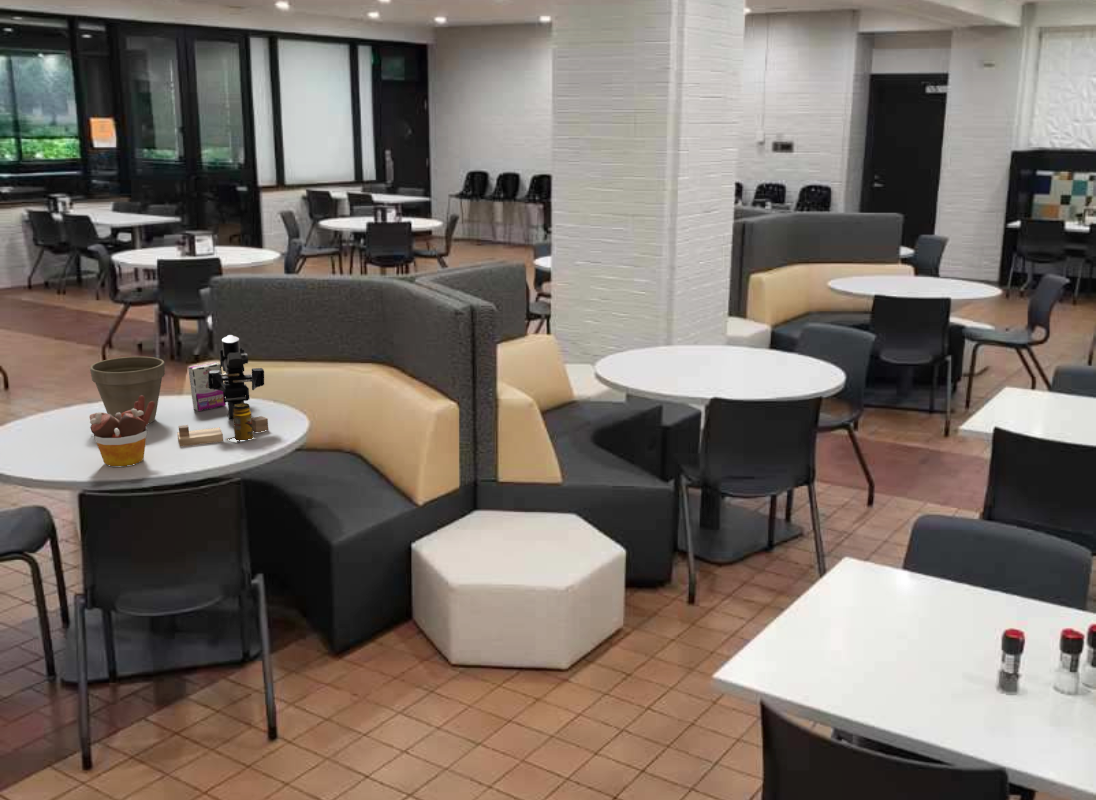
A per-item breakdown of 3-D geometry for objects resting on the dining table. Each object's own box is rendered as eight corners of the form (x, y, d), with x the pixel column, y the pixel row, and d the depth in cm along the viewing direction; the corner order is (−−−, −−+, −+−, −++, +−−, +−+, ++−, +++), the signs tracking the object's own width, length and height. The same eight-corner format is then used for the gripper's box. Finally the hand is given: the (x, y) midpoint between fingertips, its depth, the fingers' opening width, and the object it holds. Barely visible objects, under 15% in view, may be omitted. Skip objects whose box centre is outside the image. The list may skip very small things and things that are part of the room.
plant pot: (182, 422, 389) (175, 363, 384) (113, 436, 373) (105, 374, 368) (153, 409, 407) (147, 352, 402) (86, 422, 391) (79, 363, 386)
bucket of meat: (112, 474, 332) (105, 412, 327) (82, 465, 342) (74, 404, 337) (168, 457, 348) (162, 398, 343) (138, 449, 357) (131, 391, 352)
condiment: (258, 438, 367) (255, 404, 364) (235, 444, 362) (232, 409, 359) (247, 434, 372) (244, 400, 369) (225, 439, 367) (221, 405, 364)
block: (250, 430, 377) (249, 418, 376) (262, 428, 380) (261, 416, 379) (256, 433, 374) (255, 421, 373) (268, 430, 377) (267, 418, 375)
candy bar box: (220, 403, 413) (216, 361, 409) (226, 406, 409) (221, 363, 405) (192, 409, 406) (187, 366, 402) (197, 411, 403) (192, 368, 398)
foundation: (177, 439, 368) (176, 423, 366) (220, 434, 373) (219, 419, 372) (179, 446, 360) (178, 430, 358) (223, 441, 365) (221, 425, 363)
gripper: (205, 349, 373) (210, 370, 361) (260, 346, 380) (267, 367, 368) (206, 377, 379) (210, 399, 366) (260, 374, 386) (267, 396, 373)
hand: (239, 389), depth 368 cm, fingers open, 9 cm apart
